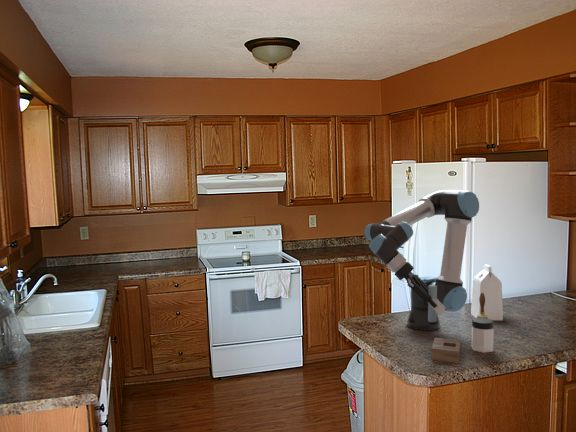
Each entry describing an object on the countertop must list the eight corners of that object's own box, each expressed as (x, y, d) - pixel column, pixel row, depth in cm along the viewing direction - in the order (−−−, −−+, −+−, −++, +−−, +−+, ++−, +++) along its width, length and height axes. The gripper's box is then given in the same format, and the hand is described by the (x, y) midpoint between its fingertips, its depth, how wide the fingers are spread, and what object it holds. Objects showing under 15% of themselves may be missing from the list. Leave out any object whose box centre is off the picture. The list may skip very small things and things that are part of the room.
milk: (502, 320, 254) (504, 267, 252) (479, 320, 254) (480, 267, 252) (493, 313, 266) (494, 263, 264) (470, 313, 266) (471, 263, 264)
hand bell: (471, 328, 242) (472, 294, 241) (474, 323, 250) (474, 290, 248) (490, 330, 238) (491, 295, 237) (492, 325, 246) (493, 292, 244)
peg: (428, 319, 208) (429, 284, 207) (436, 320, 207) (437, 285, 206) (427, 321, 206) (428, 286, 204) (435, 322, 204) (436, 287, 203)
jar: (497, 349, 213) (497, 320, 212) (489, 354, 207) (489, 324, 206) (475, 344, 219) (476, 316, 218) (467, 349, 213) (467, 320, 212)
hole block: (434, 348, 215) (434, 337, 215) (460, 350, 211) (460, 340, 211) (431, 359, 202) (431, 348, 201) (458, 362, 198) (458, 351, 198)
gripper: (397, 269, 218) (438, 312, 213) (389, 277, 203) (433, 323, 198) (410, 257, 215) (451, 300, 211) (403, 264, 201) (447, 310, 196)
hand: (442, 311), depth 205 cm, fingers closed on peg, 3 cm apart
